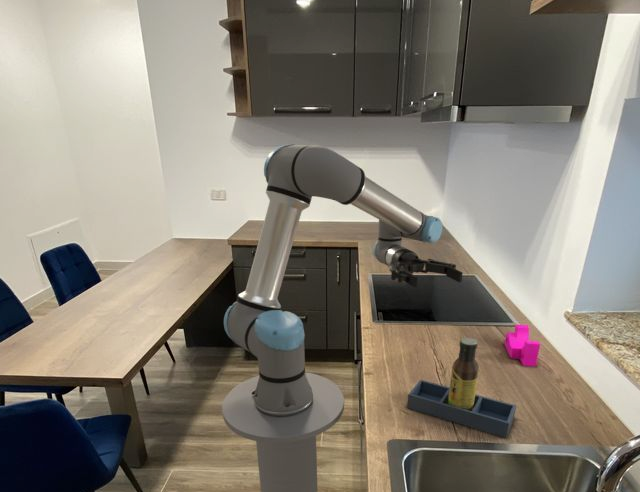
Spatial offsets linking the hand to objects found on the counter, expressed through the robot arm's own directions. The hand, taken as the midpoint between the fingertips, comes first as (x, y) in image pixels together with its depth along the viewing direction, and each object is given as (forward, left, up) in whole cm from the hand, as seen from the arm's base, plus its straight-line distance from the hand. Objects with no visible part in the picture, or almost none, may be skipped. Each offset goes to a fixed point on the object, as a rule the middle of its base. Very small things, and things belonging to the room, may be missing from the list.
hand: (438, 279), depth 118 cm
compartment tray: (+13, -13, -30) cm, 35 cm away
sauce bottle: (+13, -13, -29) cm, 35 cm away
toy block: (+20, +29, -30) cm, 46 cm away
